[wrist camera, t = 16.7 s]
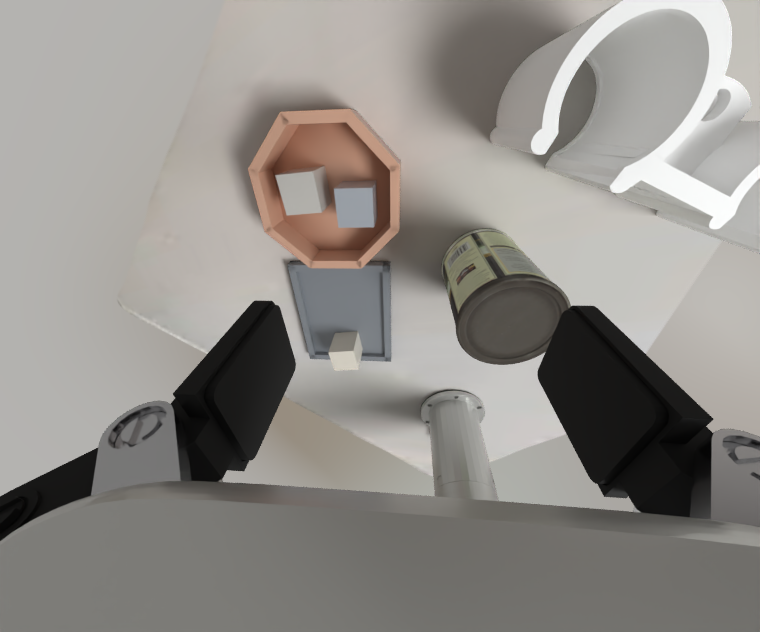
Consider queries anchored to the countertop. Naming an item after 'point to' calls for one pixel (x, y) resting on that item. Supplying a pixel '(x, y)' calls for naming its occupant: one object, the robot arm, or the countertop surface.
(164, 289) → the countertop surface
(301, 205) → the pebble grey
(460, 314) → the coffee can
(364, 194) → the matte gray cube
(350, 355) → the cream foam cube
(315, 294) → the tray
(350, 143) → the bowl
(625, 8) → the bracket
